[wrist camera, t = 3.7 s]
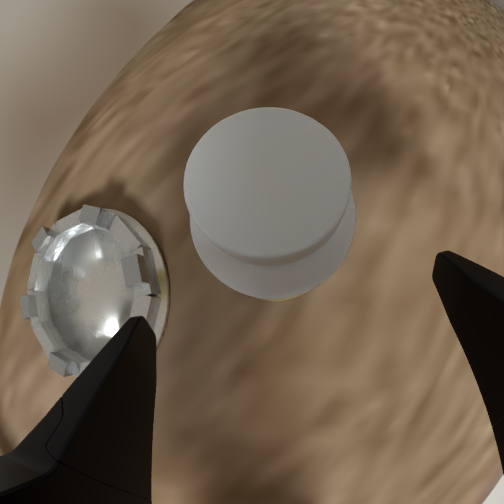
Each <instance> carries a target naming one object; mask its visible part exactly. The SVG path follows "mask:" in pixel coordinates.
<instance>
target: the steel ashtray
mask: <svg viewBox="0 0 504 504" xmlns="http://www.w3.org/2000/svg"><path fill="white" fill-rule="evenodd" d="M32 245H33V247H34V249H35V251H36V253H35V254H34V258H33V262H32V267H31V271H30V276H29V281H28V286H27V288H28V289H29V290H28V291H27V295H24V296H22V297H20V305H21V312H22V319H31V324H32V327H34V328H33V331H34V333H35V335H36V336H37V338H38V340H39V342H40V344H41V345H42V347H43V349H44V351H45V352H46V354H47V356H48V357H49V367H50V368H51V369H53V370H54V371H56V372H57V373H59V374H60V375H62V376H63V377H66V376H70V375H73V376H75V377H78V376H79V375H80V374H81V372H82V371H83V370H84V369H85V368H86V367H87V365H88V364H89V363H90V362H91V361H92V360H93V359H94V357H95V356H96V355H97V354H98V353H99V352H100V351H101V349H102V348H103V347H104V346H105V345H106V344H107V343H108V341H109V340H110V339H111V338H112V337H113V336H114V335H115V334H116V332H117V331H118V330H119V329H120V328H121V327H122V326H123V325H124V324H125V322H126V321H127V320H128V319H129V318H130V317H134V316H143V317H145V319H146V320H147V322H148V323H149V325H150V326H151V328H152V330H153V331H154V333H155V335H156V349H157V347H158V346H159V343H160V341H161V339H162V337H163V334H164V331H165V328H166V324H167V320H168V314H169V305H170V286H169V279H168V272H167V268H166V265H165V261H164V258H163V256H162V253H161V251H160V249H159V247H158V245H157V243H156V241H155V240H154V238H153V237H152V236H151V234H150V233H149V232H148V230H147V229H146V228H145V227H144V226H143V225H142V224H141V223H139V222H138V221H136V220H135V219H134V218H132V217H131V216H129V215H127V214H125V213H123V212H120V211H117V210H113V209H105V208H104V209H102V208H99V207H94V206H89V205H84V204H83V207H82V209H80V210H78V211H76V212H74V213H72V214H70V215H68V216H66V217H64V218H62V219H60V220H58V221H56V223H54V225H53V226H52V227H51V229H49V228H47V227H44V226H42V227H41V229H40V230H39V232H38V233H37V235H36V236H35V238H34V239H33V241H32Z"/></svg>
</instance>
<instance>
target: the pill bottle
mask: <svg viewBox="0 0 504 504" xmlns="http://www.w3.org/2000/svg"><path fill="white" fill-rule="evenodd" d="M183 184H184V197H185V202H186V205H187V208H188V211H189V213H190V229H191V235H192V239H193V243H194V246H195V248H196V251H197V253H198V255H199V257H200V258H201V260H202V262H203V263H204V265H205V266H206V267H207V268H208V270H209V271H210V272H211V273H212V274H213V275H214V276H215V277H216V278H217V279H219V280H220V281H221V282H222V283H224V284H225V285H227V286H228V287H230V288H232V289H234V290H236V291H238V292H240V293H242V294H245V295H248V296H251V297H255V298H259V299H264V300H269V301H285V300H290V299H294V298H296V297H299V296H301V295H303V294H305V293H306V292H308V291H310V290H312V289H314V288H315V287H317V286H319V285H320V284H321V283H323V282H324V281H325V280H327V279H328V278H329V277H330V276H331V275H332V274H333V273H334V272H335V271H336V269H337V268H338V267H339V266H340V264H341V263H342V261H343V260H344V258H345V256H346V255H347V253H348V250H349V248H350V246H351V243H352V240H353V236H354V231H355V222H356V213H355V204H354V199H353V195H352V192H351V185H352V179H351V171H350V166H349V162H348V159H347V156H346V154H345V152H344V150H343V148H342V146H341V144H340V143H339V142H338V140H337V139H336V137H335V136H334V135H333V134H332V133H331V132H330V131H329V130H328V129H327V128H326V127H324V126H323V125H322V124H320V123H319V122H317V121H316V120H314V119H312V118H311V117H309V116H306V115H304V114H302V113H300V112H296V111H293V110H290V109H285V108H277V107H261V108H254V109H248V110H245V111H241V112H238V113H236V114H233V115H231V116H229V117H227V118H225V119H223V120H221V121H220V122H218V123H217V124H215V125H214V126H213V127H212V128H210V129H209V130H208V131H207V132H206V133H205V134H204V135H203V136H202V138H201V139H200V140H199V142H198V143H197V144H196V146H195V147H194V149H193V150H192V152H191V154H190V157H189V159H188V161H187V165H186V169H185V173H184V183H183Z"/></svg>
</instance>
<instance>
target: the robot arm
mask: <svg viewBox="0 0 504 504" xmlns="http://www.w3.org/2000/svg"><path fill="white" fill-rule="evenodd" d="M432 277H433V282H434V284H435V286H436V289H437V291H438V293H439V296H440V298H441V301H442V303H443V306H444V308H445V311H446V313H447V316H448V318H449V320H450V323H451V325H452V327H453V329H454V331H455V333H456V335H457V337H458V339H459V342H460V344H461V346H462V348H463V350H464V353H465V355H466V357H467V359H468V362H469V364H470V367H471V369H472V371H473V374H474V376H475V379H476V381H477V384H478V387H479V389H480V392H481V395H482V398H483V400H484V403H485V406H486V409H487V412H488V415H489V418H490V422H491V425H492V429H493V432H494V436H495V440H496V443H497V447H498V451H499V455H500V460H501V464H502V469H503V474H504V277H502V276H501V275H499V274H497V273H495V272H493V271H491V270H489V269H487V268H485V267H483V266H481V265H479V264H476V263H474V262H472V261H470V260H468V259H466V258H464V257H462V256H460V255H457V254H455V253H453V252H451V251H443V252H440V253H438V254H437V255H436V258H435V264H434V268H433V273H432ZM155 395H156V335H155V333H154V331H153V330H152V328H151V326H150V325H149V323H148V322H147V320H146V319H145V317H143V316H134V317H130V318H129V319H128V320H127V321H126V322H125V324H124V325H123V326H122V327H121V328H120V329H119V330H118V331H117V332H116V334H115V335H114V336H113V337H112V338H111V339H110V340H109V341H108V343H107V344H106V345H105V346H104V347H103V348H102V349H101V351H100V352H99V353H98V354H97V355H96V356H95V357H94V359H93V360H92V361H91V362H90V363H89V364H88V365H87V367H86V368H85V369H84V370H83V371H82V372H81V374H80V375H79V376H78V377H77V378H76V380H75V381H74V382H73V383H72V384H71V386H70V387H69V388H68V389H67V390H66V392H65V393H64V394H63V395H62V397H60V399H59V400H58V401H57V402H56V404H55V405H54V406H53V407H52V408H51V410H50V411H49V412H48V413H47V414H46V416H45V417H44V418H43V419H42V420H41V421H40V422H39V423H38V424H37V425H36V427H35V428H34V429H33V430H32V431H31V432H30V433H29V434H28V435H27V436H26V437H25V438H24V439H23V441H22V442H21V443H20V444H19V445H18V446H17V447H16V448H15V449H14V450H12V451H11V452H9V453H7V454H5V455H2V456H0V504H152V501H151V470H152V440H153V422H154V407H155Z"/></svg>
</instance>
